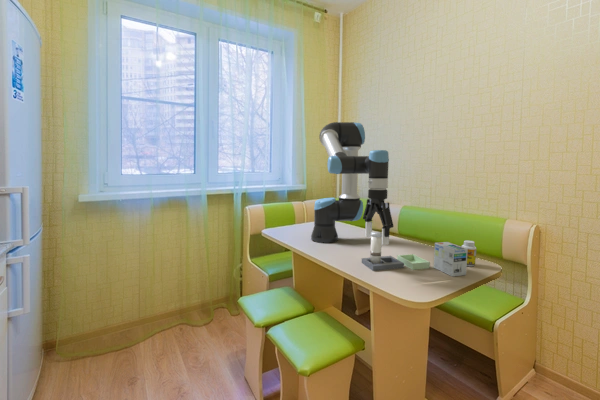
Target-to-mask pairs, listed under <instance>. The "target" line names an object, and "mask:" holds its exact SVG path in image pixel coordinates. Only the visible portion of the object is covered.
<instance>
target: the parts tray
mask: <svg viewBox="0 0 600 400" xmlns="http://www.w3.org/2000/svg"><path fill="white" fill-rule="evenodd" d="M396 259H397V260H399V261H401V262H403V263H404V267H407V268H408V269H411V270H413V271H414V270H415V271H416V270H423V269H424V270H425V269H430V266H431V262H430V261H429V260H427V259H425V258H422V257H420V256H418V255H417V254H414V253H411V254H408V253H407V254H398V255H396Z"/></svg>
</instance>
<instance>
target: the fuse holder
mask: <svg viewBox="0 0 600 400" xmlns="http://www.w3.org/2000/svg"><path fill="white" fill-rule="evenodd" d="M361 263H362V264H363V265H364V266H365V267H367V268H368V269H369V270H370V271H372V272H375V271H386V270H396V269H404V268H405V265H404V263H403V262H401V261H399V260H397V257H396V258H395V257H394V256H392V255H384V256H382V255H381V264H372V263H370V257H362V258H361Z"/></svg>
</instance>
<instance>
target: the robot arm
mask: <svg viewBox="0 0 600 400" xmlns="http://www.w3.org/2000/svg"><path fill="white" fill-rule="evenodd" d="M318 137H319V142H320V143H321V145H322V146H323V147H324V148H325V150H326V153H327V156H328V158H327V172H328V173H329V174H335V175H340V174H341V194H340V195H339V196H338V200H337V199H336V197H325V198H318V199H316V200H315V201H314V207H313V210H314V213H313V214H314V217H313V219H314V223H313V224H314V225H313V229H312V232H311V235H310V240H311V239H312V240H314V241H313V242H315V241H317V242H316V243H320V242H324V243H323V244H328V243H329V242H331V243H336V242H337V240H339V234H338V232H337V229H336V222H355V221H359V220H361V217H362V219H363V220H364V221H365V232H364V234H365V236H364V237H365V238H371V232H373V218H374V215H375V214H376V213H377V214H378V216H379V219H380V222H381V224H382V227H381V233H382V239H381V246H388V245H389V244H390V229H392V228H394V222H393V219H392V218H393V217H392V214H391V209H390V202H388V201H387V202H385V200H386V199H388V186H389V185H388V184H389V161H390V158H389V151H388V150H386V149H385V150H384V149H376V150H375V149H373V150H370V151H369V154H368V155H366V156H365V155H363V156H361V155H359V150H360V149H361V148H362V145H364V144H365V140H366V130H365V127H364V125H363V124H362V123H361V122H355V121H354V122H344V121H343V122H337V121H336V122H331V123H328V124H326V125H324V127H322V129H321V130H320V132H319V136H318ZM359 174H361V175H365V174H366V175H368V181H367V183H368V188H369V189H368V191H367V194H368V195H367V197H368V198H367V199H366V205H365V208H364V201H363V200H361V197H360V196H359V195H358V175H359ZM363 211H364V212H363ZM312 240H311V241H312ZM335 241H336V242H335ZM329 244H330V243H329ZM389 246H390V245H389Z"/></svg>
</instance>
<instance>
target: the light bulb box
mask: <svg viewBox="0 0 600 400" xmlns="http://www.w3.org/2000/svg"><path fill="white" fill-rule="evenodd" d="M461 246H462V245H461ZM461 246H460V245H458V244H454V243H452V242H449V241H443V242H442V241H441V242H434V253H433V256H434V257H433V268H434V269H436V270H439V271H440V272H442V273H444V274H446V275H449V276H451V277H460V276H467V268H468V266H467V252H468V248H464V247H461Z"/></svg>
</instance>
